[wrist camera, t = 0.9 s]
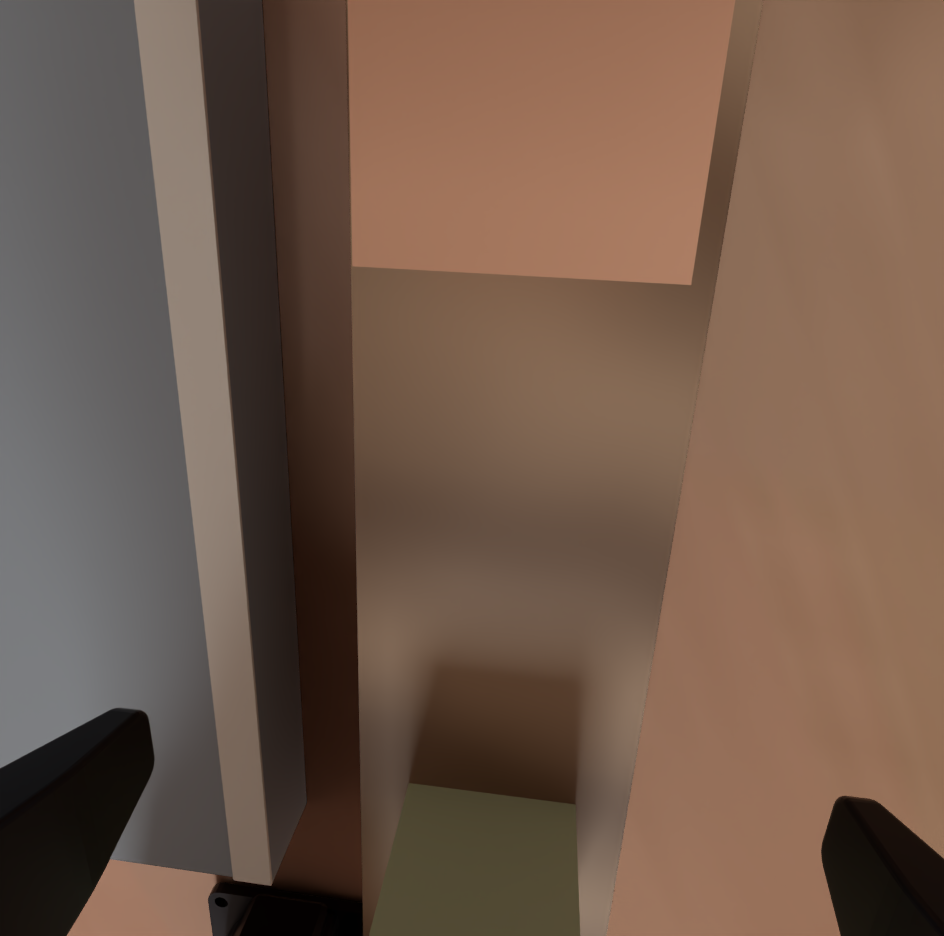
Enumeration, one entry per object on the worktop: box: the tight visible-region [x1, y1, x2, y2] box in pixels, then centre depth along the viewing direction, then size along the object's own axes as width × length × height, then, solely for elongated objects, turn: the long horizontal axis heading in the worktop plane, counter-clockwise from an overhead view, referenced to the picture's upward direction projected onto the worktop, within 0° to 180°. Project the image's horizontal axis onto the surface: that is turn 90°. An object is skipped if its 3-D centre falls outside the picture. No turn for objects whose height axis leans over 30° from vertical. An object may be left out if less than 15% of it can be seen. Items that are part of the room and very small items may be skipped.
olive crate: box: [369, 783, 580, 936], centre depth 15 cm, size 4×4×4 cm
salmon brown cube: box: [348, 0, 735, 285], centre depth 9 cm, size 4×4×4 cm
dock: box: [0, 0, 307, 886], centre depth 18 cm, size 25×9×3 cm, turn 178°
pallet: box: [346, 0, 763, 936], centre depth 16 cm, size 24×6×5 cm, turn 178°
